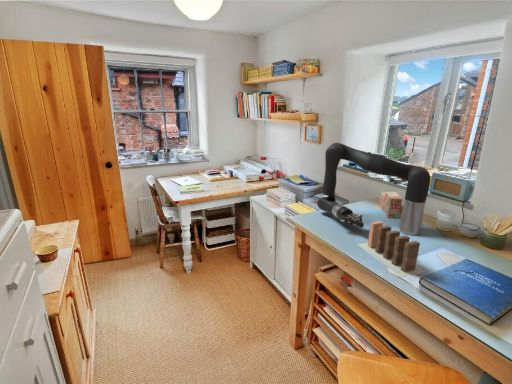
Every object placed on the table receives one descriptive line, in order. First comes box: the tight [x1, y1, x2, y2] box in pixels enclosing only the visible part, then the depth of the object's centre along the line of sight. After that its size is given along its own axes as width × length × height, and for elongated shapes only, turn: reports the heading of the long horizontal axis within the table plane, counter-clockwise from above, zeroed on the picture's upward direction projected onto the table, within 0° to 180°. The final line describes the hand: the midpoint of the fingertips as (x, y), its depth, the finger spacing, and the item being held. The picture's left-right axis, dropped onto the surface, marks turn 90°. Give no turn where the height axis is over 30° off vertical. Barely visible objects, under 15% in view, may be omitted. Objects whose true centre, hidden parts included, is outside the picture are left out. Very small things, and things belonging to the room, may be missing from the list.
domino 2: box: [383, 229, 401, 259], centre depth 120 cm, size 2×5×12 cm, turn 107°
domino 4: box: [401, 240, 421, 272], centre depth 110 cm, size 2×5×12 cm, turn 107°
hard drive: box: [435, 253, 463, 267], centre depth 117 cm, size 2×8×12 cm
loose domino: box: [367, 220, 384, 248], centre depth 129 cm, size 2×5×12 cm, turn 107°
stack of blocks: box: [378, 191, 403, 220], centre depth 171 cm, size 21×6×12 cm, turn 171°
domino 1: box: [375, 225, 392, 254], centre depth 124 cm, size 2×5×12 cm, turn 107°
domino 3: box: [392, 234, 411, 266], centre depth 115 cm, size 2×5×12 cm, turn 107°
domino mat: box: [357, 242, 426, 278], centre depth 122 cm, size 27×12×1 cm, turn 17°
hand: (362, 225), depth 137 cm, fingers closed
